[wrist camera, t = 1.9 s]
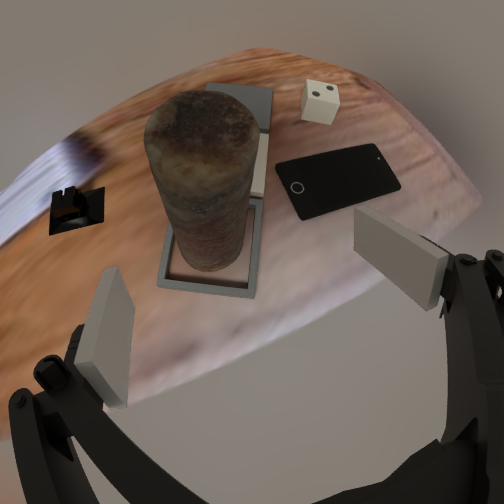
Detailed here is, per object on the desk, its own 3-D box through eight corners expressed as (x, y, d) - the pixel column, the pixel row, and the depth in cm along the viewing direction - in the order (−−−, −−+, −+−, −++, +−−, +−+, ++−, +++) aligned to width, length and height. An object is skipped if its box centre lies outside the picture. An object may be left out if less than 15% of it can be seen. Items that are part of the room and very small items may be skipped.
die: (301, 119, 42) (308, 97, 37) (300, 100, 44) (306, 78, 39) (331, 125, 42) (340, 104, 38) (328, 106, 44) (337, 84, 39)
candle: (231, 207, 36) (236, 78, 17) (253, 260, 34) (283, 154, 15) (173, 228, 35) (126, 108, 16) (192, 283, 33) (146, 197, 14)
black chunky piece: (115, 182, 37) (104, 164, 32) (115, 228, 35) (102, 213, 30) (45, 202, 35) (30, 187, 31) (41, 246, 33) (24, 235, 29)
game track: (158, 287, 32) (156, 285, 31) (207, 87, 43) (207, 82, 42) (253, 298, 33) (254, 297, 32) (271, 93, 44) (272, 88, 42)
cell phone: (273, 167, 39) (274, 164, 38) (372, 146, 42) (374, 142, 41) (300, 222, 37) (301, 219, 36) (399, 190, 40) (402, 187, 39)
